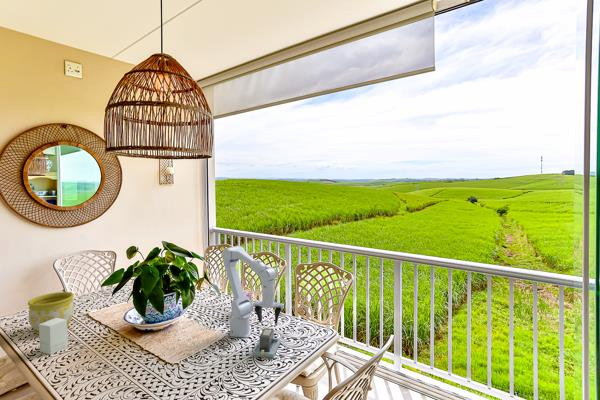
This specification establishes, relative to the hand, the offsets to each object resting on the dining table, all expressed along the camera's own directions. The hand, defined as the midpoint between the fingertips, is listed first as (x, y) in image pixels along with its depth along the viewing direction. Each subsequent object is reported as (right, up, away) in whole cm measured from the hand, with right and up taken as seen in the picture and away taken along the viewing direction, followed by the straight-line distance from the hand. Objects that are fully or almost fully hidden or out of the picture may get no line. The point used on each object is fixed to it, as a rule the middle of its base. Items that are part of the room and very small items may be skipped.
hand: (268, 322), depth 137 cm
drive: (0, -10, -4) cm, 11 cm away
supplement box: (-97, -10, -5) cm, 97 cm away
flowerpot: (-113, -9, +14) cm, 114 cm away
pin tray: (0, -11, -4) cm, 11 cm away
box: (-18, -9, +35) cm, 41 cm away
